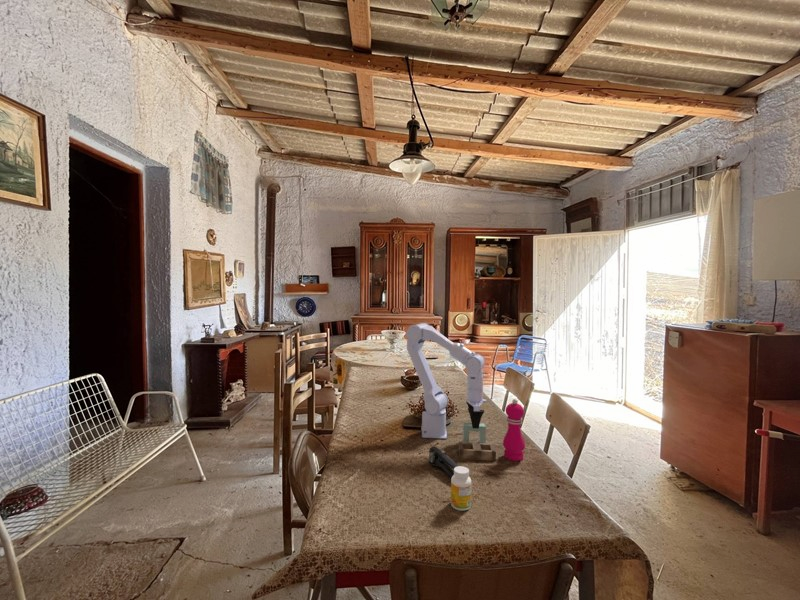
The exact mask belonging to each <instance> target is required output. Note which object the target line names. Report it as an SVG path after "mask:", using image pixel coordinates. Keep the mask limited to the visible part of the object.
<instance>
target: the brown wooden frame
mask: <svg viewBox="0 0 800 600" xmlns="http://www.w3.org/2000/svg"><path fill="white" fill-rule="evenodd" d="M458 456H459V457H458V458H459V459H460V460H473V461H475V460H476V461H477V460H478V461H491V462H492V461H497V451H496V447H495V445H494V443H488V442H486V443H479V442H470V441H469V442H463V441H459V442H458Z"/></svg>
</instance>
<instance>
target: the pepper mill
mask: <svg viewBox="0 0 800 600" xmlns="http://www.w3.org/2000/svg"><path fill="white" fill-rule="evenodd" d="M518 402H519V401H518V400H517V399H516V398H515V399H512V402H511V403H509V404H507V405H506V406H505V414H506V422H507V424H508V427H507V432H506V434H505V436H504V438H503V441H502V445H503V447H504V451H503V452H504V454H503V455H504V457H505V459H507V460H510V461H513V462H518V461H519V460H520V461H522V460H523V459H524V452H523V451H525V448H526V442H525V438H524V437H523V434H522V431H521V425H522V424H523V416H524V415H525V409H524V407H523V406H522V404H519V403H518ZM520 461H519V462H520Z"/></svg>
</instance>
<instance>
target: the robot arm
mask: <svg viewBox="0 0 800 600" xmlns="http://www.w3.org/2000/svg"><path fill="white" fill-rule="evenodd" d="M405 336H406V350H407V353H408V355H409V357H410V360H411V362H412V364H413V367H414V369H415V371H416V374H417V376H418V379H419V382H420V383H421V386H422V388H423V390H424V391H423V392H424V393H423V400H424V408H425V411H422V412H421V413H422V414H421V426H420V427H421V429H420V430H421V438H423V439H424V438H426V439H443V440H446V439H448V435H447V431H448V430H447V426H446V425H447V411H446V407H447V406H448V405H449V398H448V396H447V394H446V393H444V391H443V388H441V387H440V386H438V384H437V382H436V379H435V377H434V374H433V372H432V370H431V368H430V366H429V363H428V360H427V358H426V356H425V354H424V351H423V350H422V348H423V346H424V343H425V341H433V342H434V343H436V344H437V345H438V346H441V347H442V348H444V349H445V350H446V351H449V355H450V357H452V358H454V359H455V360H456V361H458V362H459V363H460V364H462V365H463V366H464V367H465V369H466V371H467V375H466V377H467V378H466V379H467V382H466V385H467V387H466V400H465V402H466V404H467V411H468V414H469V418H470V423H472V427H473V428H476V429H478V428H479V425H480V423H481V419H482V417H483V415H484V413H485V410H484V409H480V408H481V406H482V405H483V404H484V403H485V404H486V403H487V399H485V398H484V368H485V366H486V359H485V357H483V356H482V354H479V353H475V351H474V350H470V349H469V348H467V347H466V345H465V344H464V343H460V342H455V343H454V342H453V341H451V340H450V339H449V338H447V337H446V336H445V335H443V334H442V333H441V332H439V331H438V330H437V329H436V328H434V327H433V326H432V325H430V324H429V323H426V322H421V323H417V324H411V325H409V327H408V328H407V331H406V332H405Z"/></svg>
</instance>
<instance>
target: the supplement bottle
mask: <svg viewBox="0 0 800 600" xmlns="http://www.w3.org/2000/svg"><path fill="white" fill-rule="evenodd" d="M450 478H451V477H450ZM450 505H451V507H452V508H453V509H454V510H457V511H460V512H462V511H467V510H470V509H471V507H472V479H471V477H470V469H469V468H468V467H466V466H462V465H461V466H460V465H458V467H455V468H454V475H453V476H452V478H451V479H450Z"/></svg>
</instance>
